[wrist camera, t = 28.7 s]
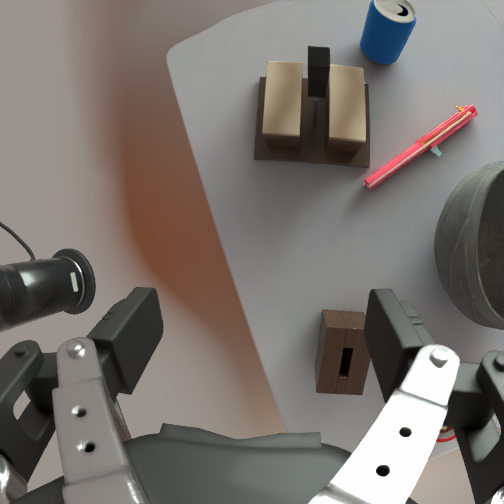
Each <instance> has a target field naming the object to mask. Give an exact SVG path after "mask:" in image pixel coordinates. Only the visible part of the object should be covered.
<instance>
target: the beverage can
mask: <svg viewBox="0 0 504 504" xmlns="http://www.w3.org/2000/svg"><path fill="white" fill-rule="evenodd" d="M415 24H416V12H415V9H414V8H413V6H412V5H411V4H410V3H409V2H408V1H407V0H372V1H371V3H370V6H369V10H368V14H367V18H366V22H365V26H364V30H363V34H362V37H361V41H360V47H361V50H362V52H363V53H364V54H365V55H366V56H367V57H368V58H369V59H370V60H372V61H374V62H376V63H380V64H391V63H393V62H395V61H396V60H397V59H398V57H399V55H400V53H401V52H402V50H403V48H404V46H405V44H406V42H407V40H408V38H409V36H410V34H411V32H412V30H413V28H414V26H415Z"/></svg>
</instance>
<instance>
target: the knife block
mask: <svg viewBox="0 0 504 504" xmlns="http://www.w3.org/2000/svg"><path fill="white" fill-rule="evenodd" d="M365 319H366V315H365V314H364V313H363V312H347V311H334V310H323V312H322V320H321V328H320V335H319V342H318V349H317V356H316V362H315V378H316V392H317V393H329V394H348V395H362V393H363V389H364V385H365V381H366V376H367V372H368V367H369V362H370V358H371V357H370V354H369V351H368V348H367V345H366V343H365V338H364V325H365Z"/></svg>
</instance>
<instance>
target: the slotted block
mask: <svg viewBox="0 0 504 504" xmlns="http://www.w3.org/2000/svg"><path fill="white" fill-rule="evenodd" d="M313 105H314V97H308V78H302V63H301V62H267V75H266V77H260V85H259V98H258V111H257V124H256V137H255V150H254V159H255V160H275V161H292V162H307V163H319V164H331V165H341V166H351V167H360V168H369V167H370V116H369V89H368V84H364V69H363V68H358V67H350V66H341V65H330V74H329V81H328V87H327V94H326V98H321V97H319V101H318V110H317V120H316V128H313Z"/></svg>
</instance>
